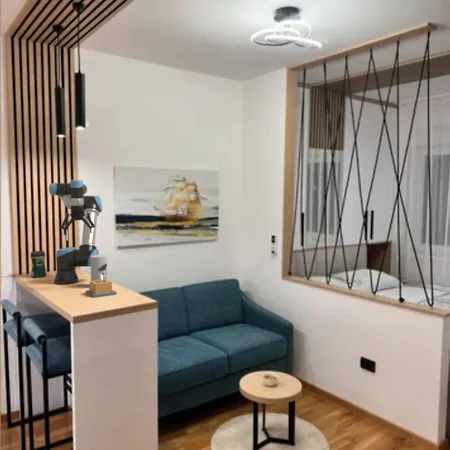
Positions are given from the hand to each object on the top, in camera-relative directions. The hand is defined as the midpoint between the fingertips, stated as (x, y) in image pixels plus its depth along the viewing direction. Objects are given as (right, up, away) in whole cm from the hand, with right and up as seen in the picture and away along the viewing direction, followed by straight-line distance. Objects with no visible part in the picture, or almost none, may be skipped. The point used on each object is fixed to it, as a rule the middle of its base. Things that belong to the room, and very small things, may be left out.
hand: (78, 239), depth 262 cm
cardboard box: (+16, -31, -6) cm, 35 cm away
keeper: (+16, -32, -5) cm, 36 cm away
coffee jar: (-43, -28, +43) cm, 67 cm away
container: (+9, -31, +14) cm, 35 cm away
